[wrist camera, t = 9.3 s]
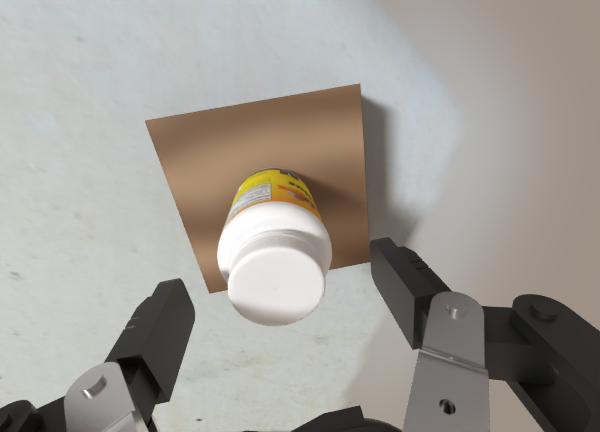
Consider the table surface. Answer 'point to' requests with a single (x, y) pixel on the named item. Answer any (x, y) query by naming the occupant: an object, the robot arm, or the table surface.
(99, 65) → the table surface
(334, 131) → the walnut plinth
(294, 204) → the supplement bottle
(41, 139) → the table surface
